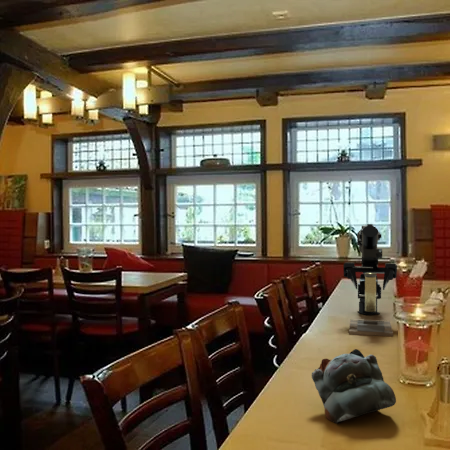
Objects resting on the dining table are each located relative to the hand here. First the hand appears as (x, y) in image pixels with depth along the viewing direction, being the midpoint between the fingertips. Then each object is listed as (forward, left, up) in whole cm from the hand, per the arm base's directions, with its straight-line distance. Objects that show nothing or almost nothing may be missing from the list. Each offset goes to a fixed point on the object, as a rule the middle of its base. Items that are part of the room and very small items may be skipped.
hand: (370, 288), depth 189 cm
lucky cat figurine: (+56, +66, -14) cm, 87 cm away
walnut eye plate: (+2, +3, -13) cm, 14 cm away
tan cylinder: (+5, +7, -6) cm, 11 cm away
